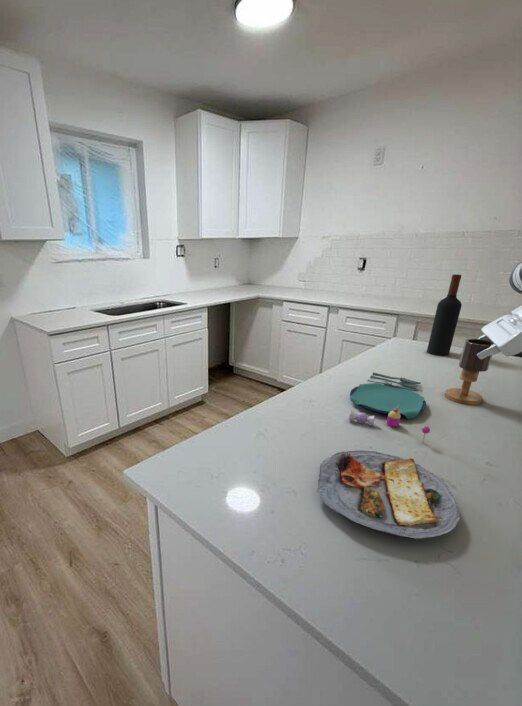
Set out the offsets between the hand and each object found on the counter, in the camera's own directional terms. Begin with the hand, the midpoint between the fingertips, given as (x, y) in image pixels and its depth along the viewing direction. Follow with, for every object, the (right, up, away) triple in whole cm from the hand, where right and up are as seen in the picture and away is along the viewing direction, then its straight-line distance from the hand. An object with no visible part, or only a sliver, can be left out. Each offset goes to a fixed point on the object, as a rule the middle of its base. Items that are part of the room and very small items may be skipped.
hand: (474, 352), depth 101 cm
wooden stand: (+1, -13, +6) cm, 14 cm away
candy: (-29, -20, -8) cm, 36 cm away
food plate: (-42, -31, -31) cm, 61 cm away
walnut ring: (+1, -4, +2) cm, 4 cm away
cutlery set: (-20, -13, +8) cm, 25 cm away
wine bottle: (+18, +4, +43) cm, 47 cm away
